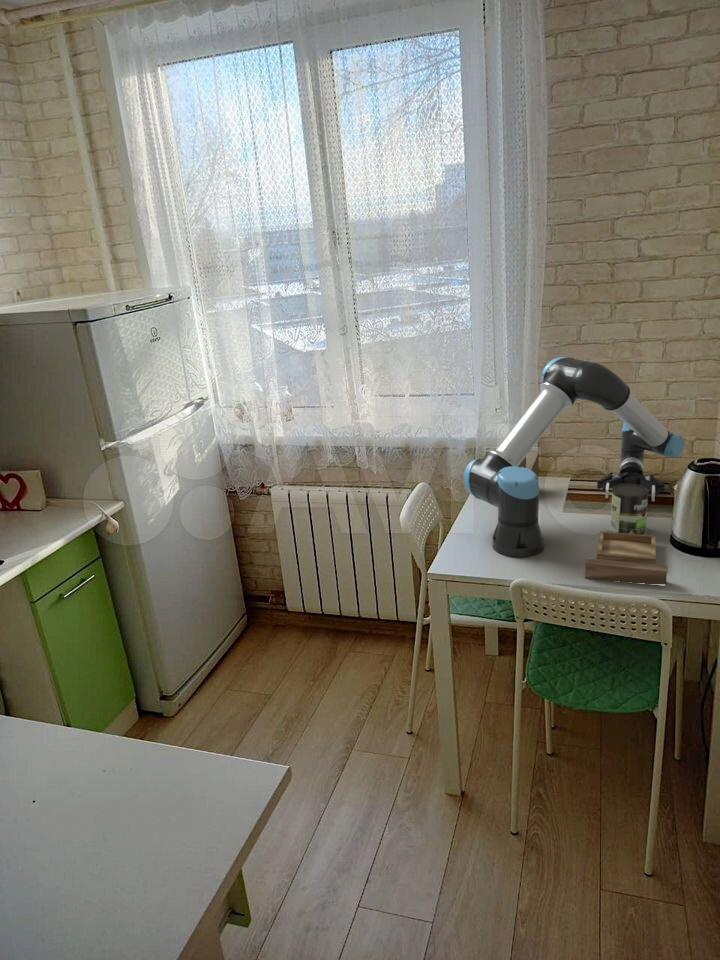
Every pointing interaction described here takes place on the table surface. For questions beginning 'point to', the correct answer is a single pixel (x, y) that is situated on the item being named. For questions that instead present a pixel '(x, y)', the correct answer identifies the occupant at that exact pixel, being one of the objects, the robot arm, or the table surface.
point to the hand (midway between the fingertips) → (629, 495)
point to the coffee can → (629, 509)
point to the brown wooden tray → (627, 547)
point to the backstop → (625, 571)
